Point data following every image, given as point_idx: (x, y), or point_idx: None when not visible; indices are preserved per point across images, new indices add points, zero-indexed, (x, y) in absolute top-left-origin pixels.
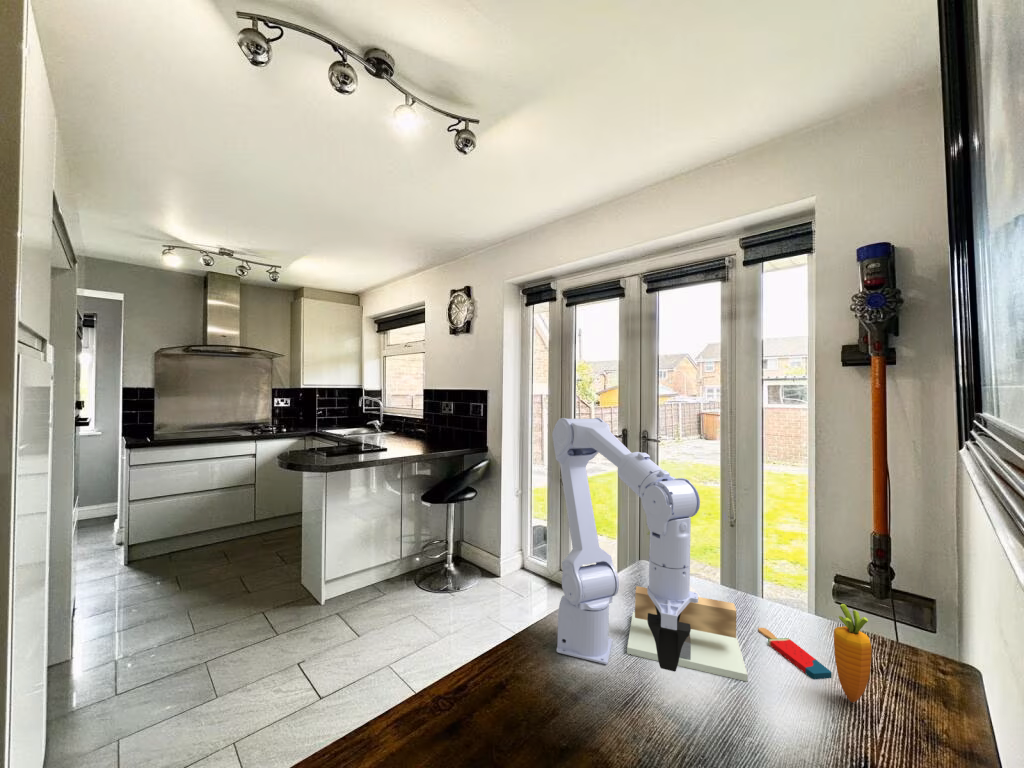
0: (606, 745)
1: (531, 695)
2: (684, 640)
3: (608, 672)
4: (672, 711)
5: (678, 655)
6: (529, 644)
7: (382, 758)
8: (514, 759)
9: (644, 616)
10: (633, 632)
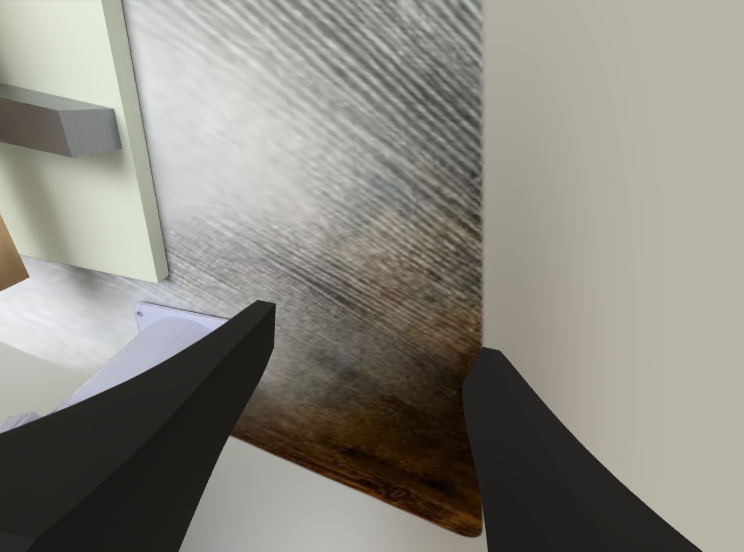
0: (453, 342)
1: (360, 423)
2: (692, 546)
3: None
4: (343, 210)
5: (553, 417)
6: None
7: (481, 520)
8: None
9: (4, 255)
10: (76, 258)
